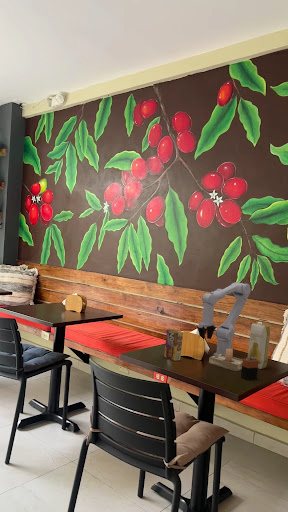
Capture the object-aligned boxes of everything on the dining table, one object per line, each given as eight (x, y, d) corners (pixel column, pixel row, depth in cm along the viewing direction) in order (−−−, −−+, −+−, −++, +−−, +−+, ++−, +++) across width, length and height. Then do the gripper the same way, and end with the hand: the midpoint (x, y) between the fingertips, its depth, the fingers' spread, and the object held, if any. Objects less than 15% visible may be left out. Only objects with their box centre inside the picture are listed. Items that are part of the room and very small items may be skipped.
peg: (226, 362, 224) (227, 348, 224) (232, 364, 222) (234, 349, 222) (223, 364, 221) (225, 349, 221) (229, 365, 219) (231, 350, 219)
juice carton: (245, 365, 225) (249, 320, 225) (252, 363, 231) (256, 320, 231) (261, 370, 219) (265, 324, 218) (268, 367, 225) (272, 323, 224)
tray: (221, 360, 232) (221, 353, 231) (247, 367, 221) (248, 360, 221) (208, 363, 222) (209, 357, 221) (236, 371, 211) (237, 364, 211)
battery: (257, 379, 202) (259, 358, 202) (246, 380, 199) (248, 359, 198) (250, 376, 206) (252, 356, 205) (240, 377, 202) (242, 356, 202)
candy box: (181, 360, 223) (183, 331, 223) (175, 361, 220) (177, 332, 220) (169, 356, 230) (172, 328, 230) (163, 356, 227) (166, 328, 227)
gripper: (208, 313, 242) (206, 336, 243) (194, 314, 231) (192, 339, 231) (219, 315, 238) (216, 339, 238) (205, 317, 227) (203, 342, 227)
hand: (205, 339), depth 234 cm, fingers open, 7 cm apart
